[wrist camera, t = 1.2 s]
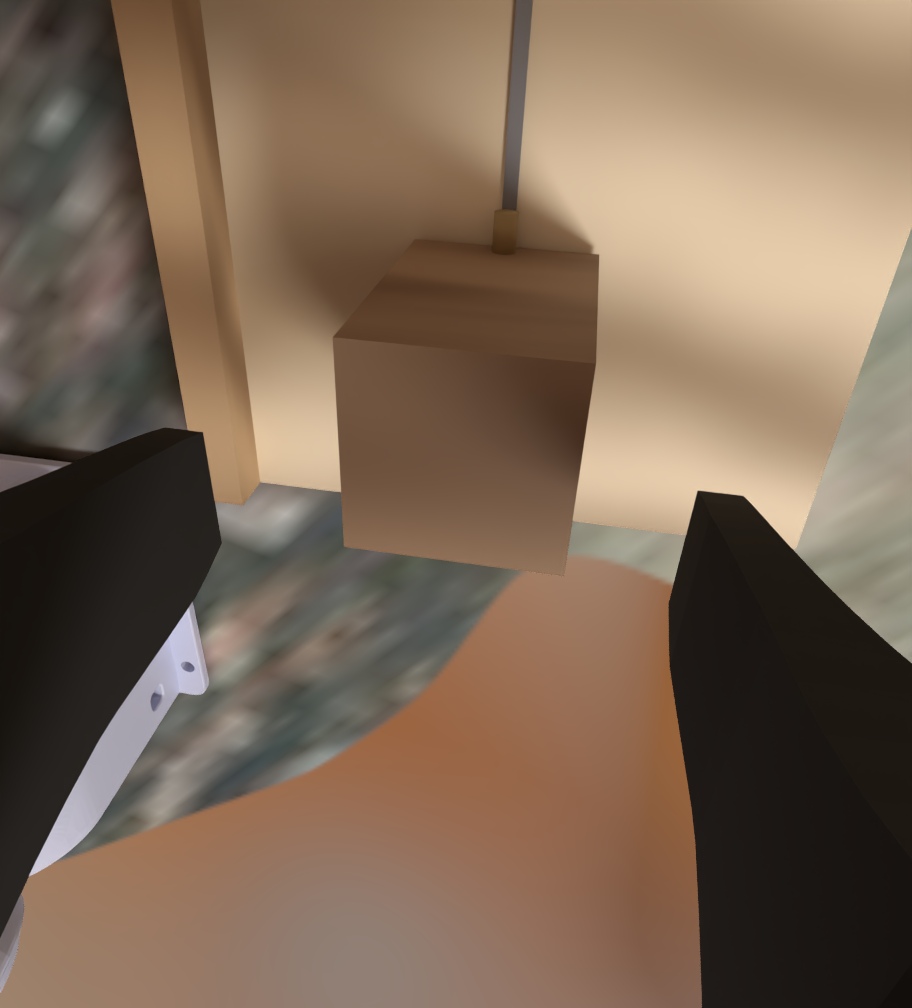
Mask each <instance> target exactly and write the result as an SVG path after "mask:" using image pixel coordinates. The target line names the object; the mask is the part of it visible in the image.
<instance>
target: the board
mask: <svg viewBox="0 0 912 1008" xmlns="http://www.w3.org/2000/svg"><path fill="white" fill-rule="evenodd" d="M111 4H112V10H113V15H114V21H115V26H116V32H117V38H118V43H119V49H120V54H121V60H122V65H123V71H124V77H125V82H126V88H127V93H128V99H129V105H130V110H131V116H132V121H133V127H134V132H135V138H136V144H137V149H138V155H139V160H140V166H141V171H142V177H143V183H144V188H145V194H146V199H147V205H148V210H149V216H150V222H151V227H152V233H153V238H154V244H155V250H156V255H157V261H158V266H159V272H160V277H161V283H162V289H163V294H164V300H165V305H166V311H167V316H168V322H169V328H170V333H171V339H172V344H173V350H174V355H175V361H176V367H177V372H178V378H179V383H180V389H181V394H182V400H183V406H184V411H185V417H186V422H187V428H188V430H189V431H197V432H203V435H204V441H205V447H206V453H207V459H208V465H209V471H210V477H211V483H212V489H213V495H214V501H215V502H221V503H229V504H237V505H244V503H245V502H246V501H247V499H248V498H249V497H250V495H251V494H252V493H253V491H254V490H255V488H256V487H257V486H258V484H259V483H260V482H264V483H272V484H280V485H288V486H296V487H304V488H312V489H320V490H328V491H336V492H341V481H340V463H339V445H338V427H337V408H336V390H335V372H334V354H333V336H334V335H335V334H336V333H337V331H338V330H339V329H340V328H341V327H342V325H343V324H344V323H345V322H346V321H347V320H348V318H349V317H350V316H351V315H352V314H353V312H354V311H355V310H356V309H357V308H358V306H359V305H360V304H361V303H362V302H363V300H364V299H365V298H366V297H367V296H368V295H369V293H370V292H371V291H372V290H373V289H374V287H375V286H376V285H377V284H378V283H379V281H380V280H381V279H382V278H383V277H384V275H385V274H386V273H387V272H388V271H389V270H390V268H391V267H392V266H393V265H394V264H395V262H396V261H397V260H398V259H399V258H400V256H401V255H402V254H403V253H404V252H405V250H406V249H407V248H408V247H409V246H410V245H411V243H412V242H413V241H414V240H415V239H419V240H431V241H443V242H455V243H467V244H479V245H491V246H492V242H493V226H494V211H495V210H499V209H510V210H515V211H518V212H519V216H518V229H517V241H516V248H527V249H539V250H551V251H563V252H575V253H587V254H599V284H598V317H597V351H596V368H595V374H594V381H593V388H592V394H591V401H590V408H589V414H588V421H587V428H586V434H585V441H584V447H583V454H582V461H581V467H580V474H579V481H578V487H577V494H576V501H575V507H574V514H573V520H572V521H576V522H584V523H592V524H600V525H608V526H616V527H624V528H632V529H640V530H648V531H656V532H664V533H672V534H680V535H686V534H687V530H688V526H689V522H690V518H691V514H692V510H693V507H694V503H695V499H696V495H697V491H707V492H715V493H724V494H732V495H741V496H744V497H745V498H746V499H747V500H748V501H749V502H750V503H751V504H752V505H753V506H754V507H755V508H756V509H757V510H758V512H759V513H760V514H761V515H762V516H763V517H764V518H765V519H766V520H767V522H768V523H769V524H770V525H771V526H772V527H773V528H774V529H775V530H776V532H777V533H778V534H779V535H780V536H781V537H782V538H783V539H784V540H785V542H786V543H787V544H788V545H789V546H790V547H791V548H792V549H796V547H797V544H798V541H799V539H800V536H801V533H802V530H803V528H804V525H805V522H806V519H807V516H808V514H809V511H810V508H811V505H812V503H813V500H814V497H815V494H816V491H817V489H818V486H819V483H820V480H821V478H822V475H823V472H824V469H825V466H826V464H827V461H828V458H829V455H830V453H831V450H832V447H833V444H834V441H835V439H836V436H837V433H838V430H839V428H840V425H841V422H842V419H843V416H844V414H845V411H846V408H847V405H848V403H849V400H850V397H851V394H852V391H853V389H854V386H855V383H856V380H857V378H858V375H859V372H860V369H861V366H862V364H863V361H864V358H865V355H866V353H867V350H868V347H869V344H870V342H871V339H872V336H873V333H874V330H875V328H876V325H877V322H878V319H879V317H880V314H881V311H882V308H883V305H884V303H885V300H886V297H887V294H888V292H889V289H890V286H891V283H892V280H893V278H894V275H895V272H896V269H897V267H898V264H899V261H900V258H901V255H902V253H903V250H904V247H905V244H906V242H907V239H908V236H909V233H910V230H911V228H912V0H111Z"/></svg>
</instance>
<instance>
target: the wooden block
mask: <svg viewBox="0 0 912 1008" xmlns="http://www.w3.org/2000/svg"><path fill="white" fill-rule="evenodd" d="M518 216H519V212H518V211H515V210H510V209H499V210H495V211H494V226H493V242H492V246H491V245H479V244H467V243H455V242H443V241H431V240H419V239H415V240H414V241H413V242H412V243H411V245H410V246H409V247H408V248H407V249H406V250H405V252H404V253H403V254H402V255H401V256H400V258H399V259H398V260H397V261H396V262H395V264H394V265H393V266H392V267H391V268H390V270H389V271H388V272H387V273H386V274H385V275H384V277H383V278H382V279H381V280H380V281H379V283H378V284H377V285H376V286H375V287H374V289H373V290H372V291H371V292H370V293H369V295H368V296H367V297H366V298H365V299H364V300H363V302H362V303H361V304H360V305H359V306H358V308H357V309H356V310H355V311H354V312H353V314H352V315H351V316H350V317H349V318H348V320H347V321H346V322H345V323H344V324H343V325H342V327H341V328H340V329H339V330H338V331H337V333H336V334H335V335H334V336H333V354H334V372H335V390H336V408H337V427H338V445H339V463H340V481H341V499H342V517H343V535H344V547H349V548H357V549H364V550H372V551H379V552H386V553H394V554H401V555H409V556H416V557H424V558H431V559H439V560H446V561H454V562H461V563H469V564H476V565H484V566H491V567H499V568H506V569H514V570H521V571H529V572H536V573H544V574H551V575H559V576H564V573H565V567H566V560H567V554H568V547H569V540H570V534H571V527H572V520H573V514H574V507H575V501H576V494H577V487H578V481H579V474H580V467H581V461H582V454H583V447H584V441H585V434H586V428H587V421H588V414H589V408H590V401H591V394H592V388H593V381H594V374H595V368H596V351H597V317H598V284H599V254H587V253H575V252H563V251H551V250H539V249H527V248H516V241H517V229H518Z"/></svg>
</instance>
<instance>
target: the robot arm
mask: <svg viewBox="0 0 912 1008" xmlns="http://www.w3.org/2000/svg"><path fill="white" fill-rule="evenodd" d="M221 543H222V542H221V536H220V530H219V524H218V518H217V512H216V506H215V501H214V495H213V489H212V483H211V477H210V471H209V465H208V459H207V453H206V447H205V441H204V435H203V432H197V431H189V430H180V429H172V428H162V429H158V430H155V431H151V432H148V433H145V434H143V435H140V436H137V437H134V438H132V439H129V440H127V441H124V442H122V443H119V444H117V445H114V446H112V447H109V448H107V449H104V450H102V451H100V452H97V453H95V454H92V455H90V456H88V457H85V458H83V459H81V460H78V461H76V462H73V463H70V462H62V461H54V460H46V459H38V458H30V457H22V456H14V455H6V454H0V993H1V991H2V989H3V987H4V985H5V983H6V981H7V978H8V976H9V974H10V971H11V968H12V966H13V963H14V960H15V957H16V954H17V950H18V945H19V937H20V930H21V926H22V922H23V913H24V902H23V896H22V895H21V892H22V890H23V888H24V886H25V883H26V881H27V879H28V877H29V876H31V875H33V874H35V873H37V872H39V871H40V870H42V869H44V868H46V867H47V866H49V865H50V864H52V863H54V862H55V861H57V860H58V859H59V858H61V857H62V856H63V855H65V854H66V853H68V852H69V851H70V850H71V849H72V848H73V847H75V846H76V845H77V844H78V843H79V842H80V841H81V840H82V839H83V838H84V837H85V836H86V835H87V834H88V833H89V832H90V831H91V829H92V828H93V827H94V826H95V824H96V823H97V822H98V820H99V819H100V818H101V816H102V814H103V813H104V811H105V810H106V808H107V807H108V805H109V803H110V802H111V800H112V799H113V797H114V795H115V794H116V792H117V791H118V789H119V787H120V786H121V784H122V783H123V781H124V779H125V778H126V776H127V775H128V773H129V771H130V770H131V768H132V767H133V765H134V763H135V762H136V760H137V759H138V757H139V756H140V754H141V752H142V751H143V749H144V748H145V746H146V744H147V743H148V741H149V740H150V738H151V736H152V735H153V733H154V732H155V730H156V728H157V727H158V725H159V724H160V722H161V720H162V719H163V717H164V716H165V714H166V712H167V711H168V709H169V708H170V706H171V705H172V703H173V701H174V700H175V698H176V697H177V695H178V693H179V692H181V693H187V694H193V695H200V694H203V693H204V692H205V690H206V689H207V687H208V685H209V679H208V674H207V669H206V664H205V659H204V654H203V650H202V645H201V640H200V635H199V630H198V625H197V620H196V615H195V610H194V606H193V600H194V599H195V597H196V595H197V593H198V591H199V590H200V588H201V586H202V584H203V582H204V580H205V578H206V576H207V574H208V572H209V570H210V567H211V565H212V563H213V561H214V559H215V557H216V554H217V552H218V550H219V548H220V546H221ZM669 656H670V671H671V678H672V685H673V691H674V697H675V705H676V711H677V718H678V724H679V730H680V737H681V742H682V749H683V756H684V762H685V768H686V774H687V781H688V788H689V794H690V800H691V807H692V815H693V824H694V834H695V842H696V843H695V844H696V861H697V862H696V863H697V882H698V901H699V902H698V903H699V927H700V955H701V984H702V1008H912V663H911V662H909V661H908V660H907V659H906V658H905V657H903V656H902V655H901V654H900V653H899V652H898V651H896V650H895V649H894V648H893V647H892V646H891V645H889V644H888V643H887V642H886V641H885V640H884V639H883V638H882V637H880V636H879V635H878V634H877V633H876V632H875V631H874V630H873V629H872V628H871V627H870V626H869V625H867V624H866V623H865V622H864V621H863V620H862V619H861V618H860V617H859V616H858V615H857V614H855V613H854V612H853V611H852V610H851V609H850V608H849V607H848V606H847V605H846V604H845V603H844V602H843V601H842V600H841V599H840V598H839V597H838V596H837V595H836V594H835V593H834V592H833V591H832V590H831V589H830V588H829V587H828V586H827V585H826V584H825V583H824V582H823V581H822V580H821V579H820V578H819V577H818V576H817V575H816V574H815V573H814V572H813V571H812V570H811V569H810V568H809V566H808V565H807V564H806V563H805V562H804V561H803V560H802V559H801V558H800V557H799V556H798V555H797V554H796V553H795V551H794V550H793V549H792V548H791V547H790V546H789V545H788V544H787V543H786V542H785V540H784V539H783V538H782V537H781V536H780V535H779V534H778V533H777V532H776V530H775V529H774V528H773V527H772V526H771V525H770V524H769V523H768V522H767V520H766V519H765V518H764V517H763V516H762V515H761V514H760V513H759V512H758V510H757V509H756V508H755V507H754V506H753V505H752V504H751V503H750V502H749V501H748V500H747V499H746V498H745V497H744V496H741V495H732V494H724V493H715V492H707V491H697V495H696V499H695V503H694V507H693V510H692V514H691V518H690V522H689V526H688V530H687V534H686V538H685V542H684V546H683V550H682V554H681V557H680V561H679V565H678V569H677V573H676V577H675V581H674V585H673V589H672V593H671V597H670V600H669Z"/></svg>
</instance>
